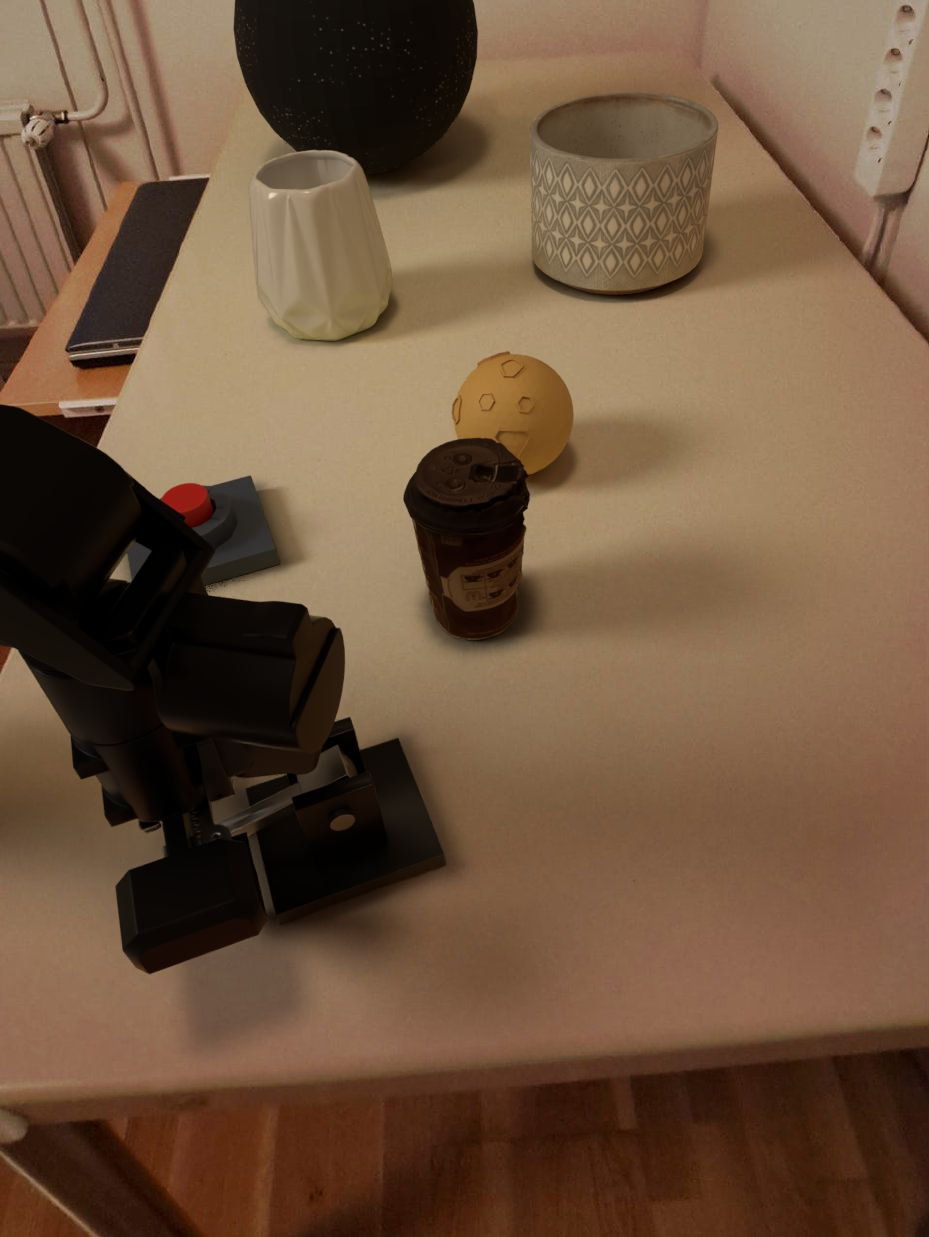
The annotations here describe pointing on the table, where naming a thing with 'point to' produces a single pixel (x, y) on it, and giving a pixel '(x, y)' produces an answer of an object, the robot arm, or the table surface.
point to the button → (190, 503)
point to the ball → (358, 72)
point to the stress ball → (516, 408)
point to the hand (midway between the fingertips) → (212, 862)
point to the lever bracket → (347, 831)
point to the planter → (620, 190)
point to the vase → (318, 245)
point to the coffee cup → (470, 533)
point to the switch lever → (290, 794)
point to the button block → (229, 533)
